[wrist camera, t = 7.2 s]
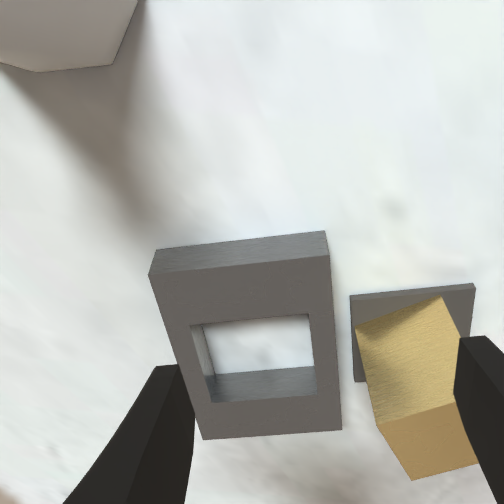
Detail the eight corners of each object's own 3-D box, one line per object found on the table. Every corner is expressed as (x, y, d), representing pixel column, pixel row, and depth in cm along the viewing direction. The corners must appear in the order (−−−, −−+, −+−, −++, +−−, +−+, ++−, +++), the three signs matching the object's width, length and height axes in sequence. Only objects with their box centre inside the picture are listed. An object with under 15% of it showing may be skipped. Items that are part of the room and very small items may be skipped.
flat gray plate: (472, 283, 24) (475, 288, 23) (461, 367, 27) (464, 373, 27) (349, 295, 24) (351, 300, 24) (353, 376, 28) (354, 382, 27)
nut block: (440, 294, 24) (487, 392, 19) (464, 352, 26) (513, 454, 21) (354, 326, 25) (376, 425, 20) (384, 379, 27) (411, 480, 22)
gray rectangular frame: (324, 230, 22) (329, 254, 21) (337, 401, 29) (342, 430, 27) (156, 249, 23) (147, 274, 21) (206, 411, 30) (202, 440, 28)
